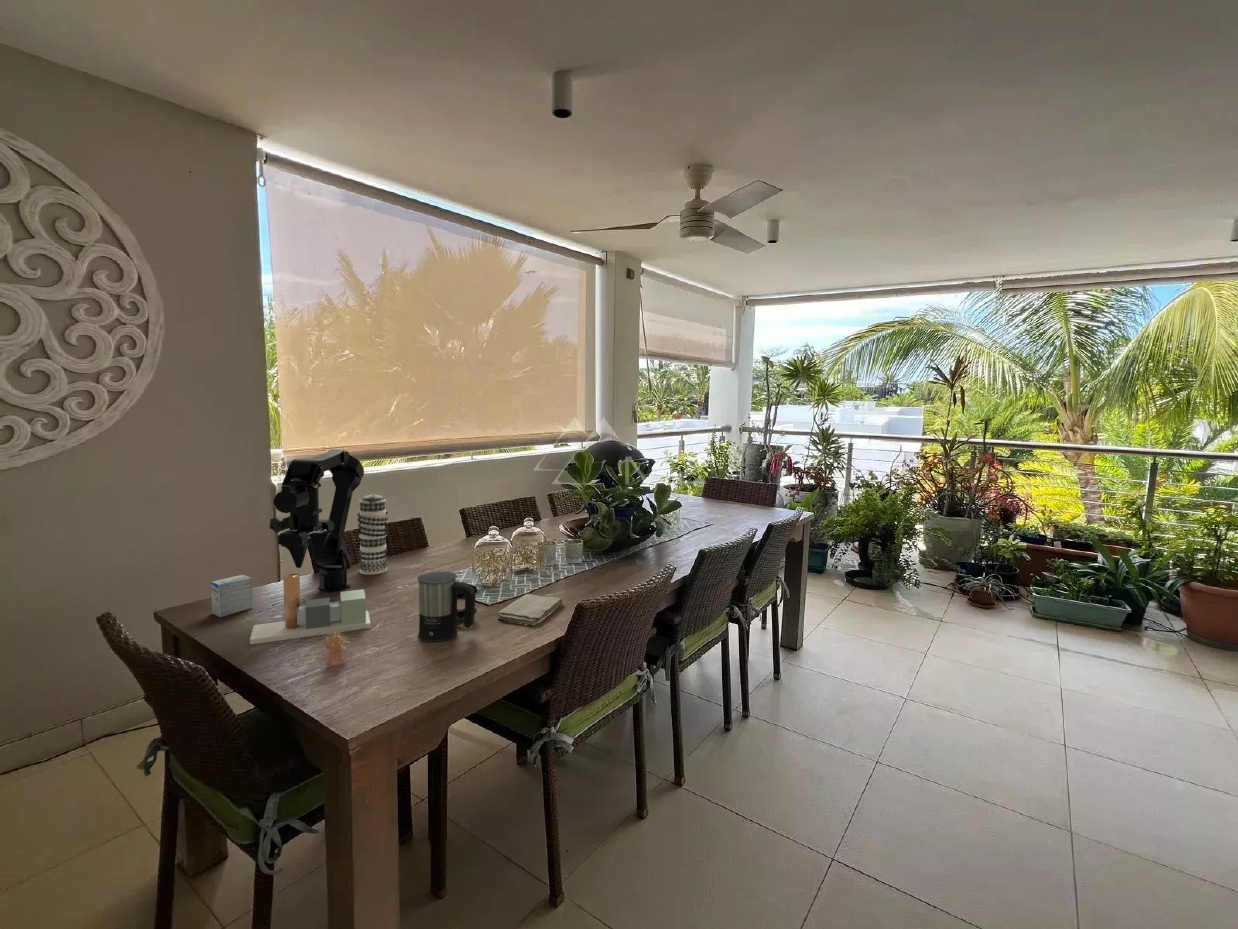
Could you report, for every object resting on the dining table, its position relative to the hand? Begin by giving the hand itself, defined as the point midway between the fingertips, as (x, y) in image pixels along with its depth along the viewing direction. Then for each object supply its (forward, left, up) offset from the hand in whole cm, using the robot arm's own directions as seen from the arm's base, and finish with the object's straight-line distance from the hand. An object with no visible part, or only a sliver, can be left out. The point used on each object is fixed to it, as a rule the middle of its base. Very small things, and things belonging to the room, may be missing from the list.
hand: (307, 562), depth 154 cm
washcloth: (-34, +50, -13) cm, 62 cm away
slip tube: (+6, +17, -10) cm, 21 cm away
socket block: (0, +20, -11) cm, 23 cm away
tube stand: (+8, +16, -12) cm, 21 cm away
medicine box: (+14, -11, -12) cm, 22 cm away
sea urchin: (+15, +38, -12) cm, 43 cm away
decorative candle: (-29, -14, -12) cm, 34 cm away
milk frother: (-13, +41, -12) cm, 45 cm away
